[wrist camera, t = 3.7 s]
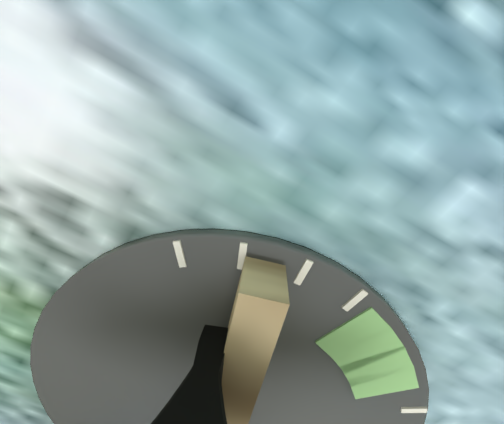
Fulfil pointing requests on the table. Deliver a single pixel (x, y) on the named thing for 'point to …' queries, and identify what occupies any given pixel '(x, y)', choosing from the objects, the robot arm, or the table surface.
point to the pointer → (252, 335)
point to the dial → (218, 314)
